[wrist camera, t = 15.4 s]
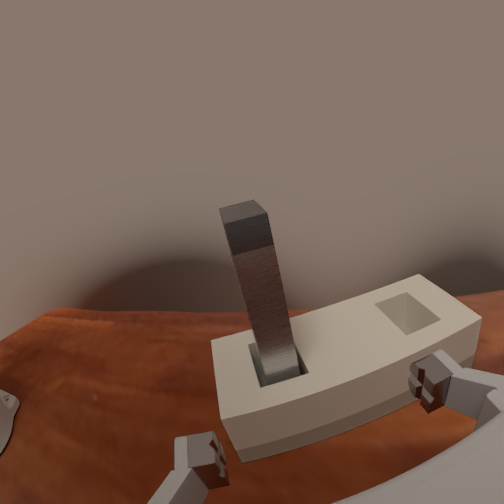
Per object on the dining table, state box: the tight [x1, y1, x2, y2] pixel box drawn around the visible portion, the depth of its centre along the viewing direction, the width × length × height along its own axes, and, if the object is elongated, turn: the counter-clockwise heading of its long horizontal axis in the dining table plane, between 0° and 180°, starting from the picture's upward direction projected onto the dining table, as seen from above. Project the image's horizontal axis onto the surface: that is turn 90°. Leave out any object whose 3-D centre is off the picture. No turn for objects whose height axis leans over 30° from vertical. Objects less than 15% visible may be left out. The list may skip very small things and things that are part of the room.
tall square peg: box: [219, 200, 300, 386], centre depth 23 cm, size 4×2×16 cm, turn 10°
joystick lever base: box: [211, 274, 482, 463], centre depth 26 cm, size 22×10×6 cm, turn 100°
